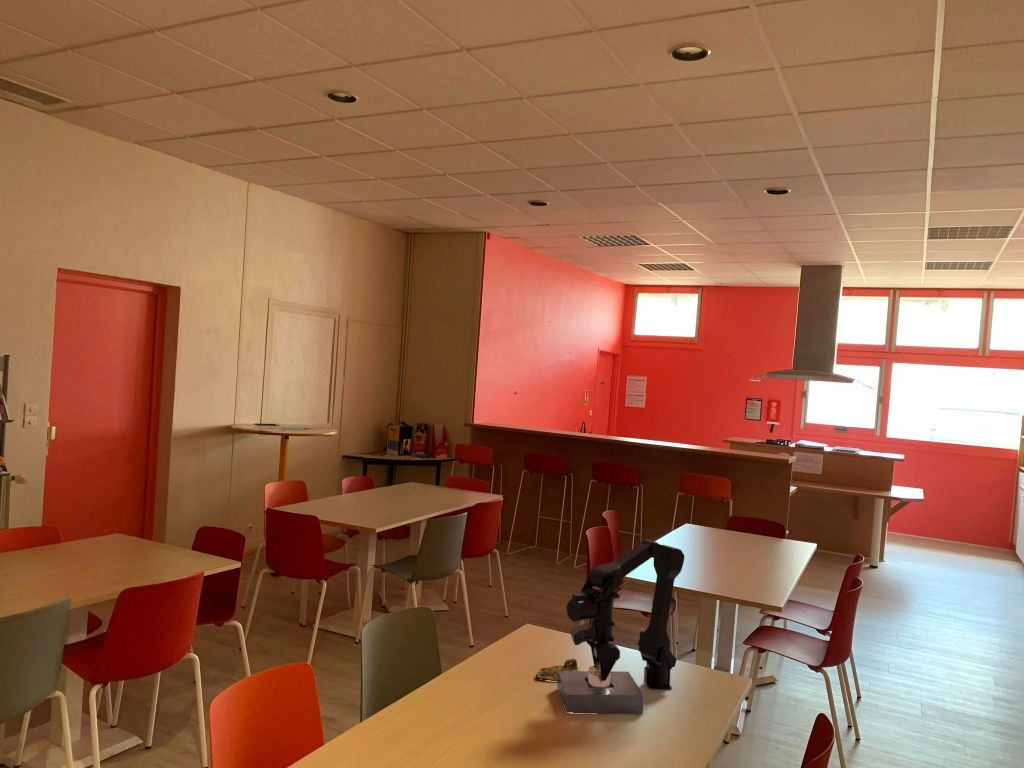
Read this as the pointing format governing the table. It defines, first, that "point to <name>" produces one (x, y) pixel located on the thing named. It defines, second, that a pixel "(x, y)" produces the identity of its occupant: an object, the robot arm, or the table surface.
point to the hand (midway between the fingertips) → (599, 673)
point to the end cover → (597, 678)
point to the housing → (600, 694)
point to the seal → (556, 670)
